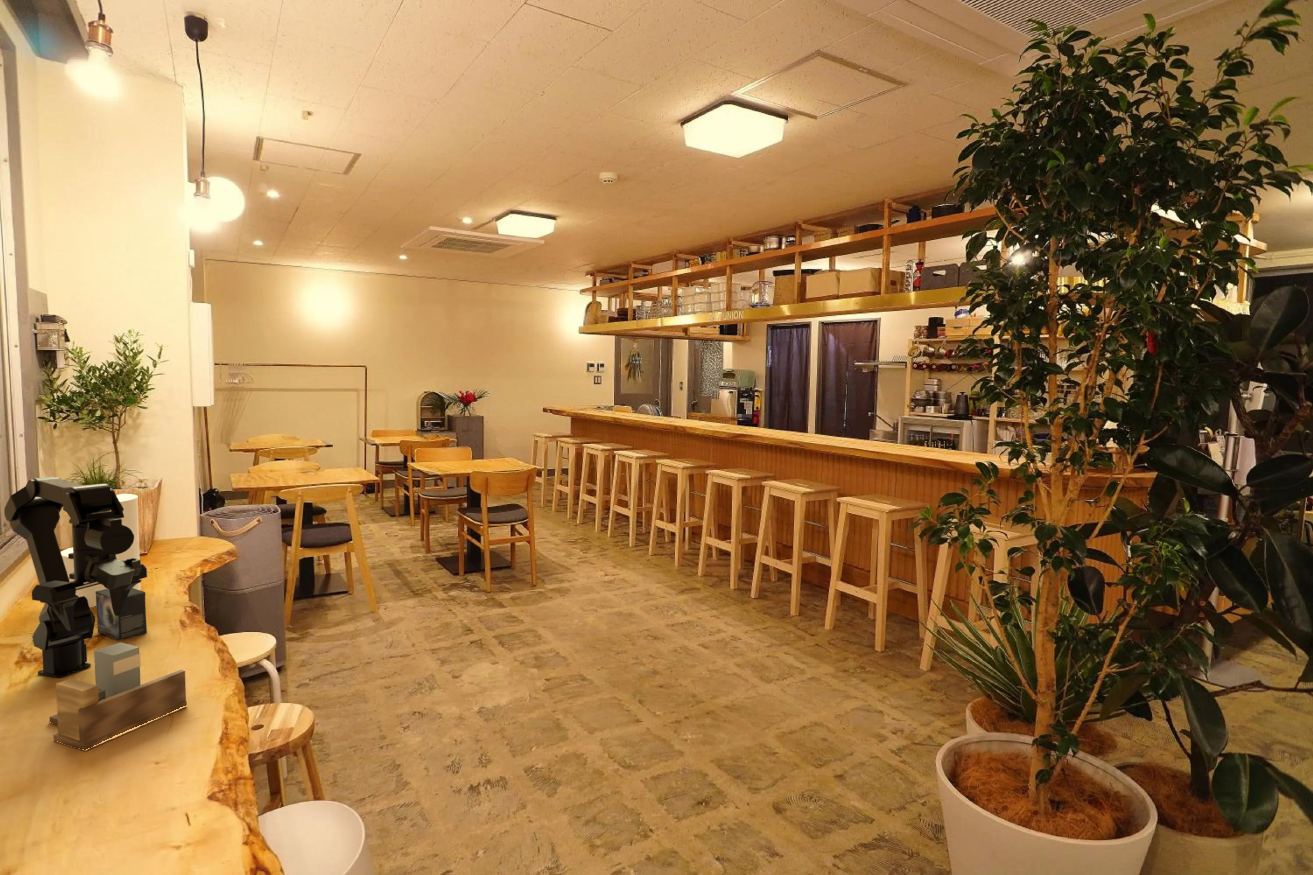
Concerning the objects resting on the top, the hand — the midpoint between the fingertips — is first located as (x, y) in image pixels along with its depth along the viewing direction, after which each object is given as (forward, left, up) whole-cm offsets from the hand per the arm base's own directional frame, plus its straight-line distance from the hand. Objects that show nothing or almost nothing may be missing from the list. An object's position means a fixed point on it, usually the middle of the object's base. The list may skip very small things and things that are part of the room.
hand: (94, 622), depth 141 cm
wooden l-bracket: (-10, -16, -13) cm, 23 cm away
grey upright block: (-7, -15, -12) cm, 20 cm away
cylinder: (+41, +53, -13) cm, 68 cm away
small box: (+23, +23, -13) cm, 35 cm away
